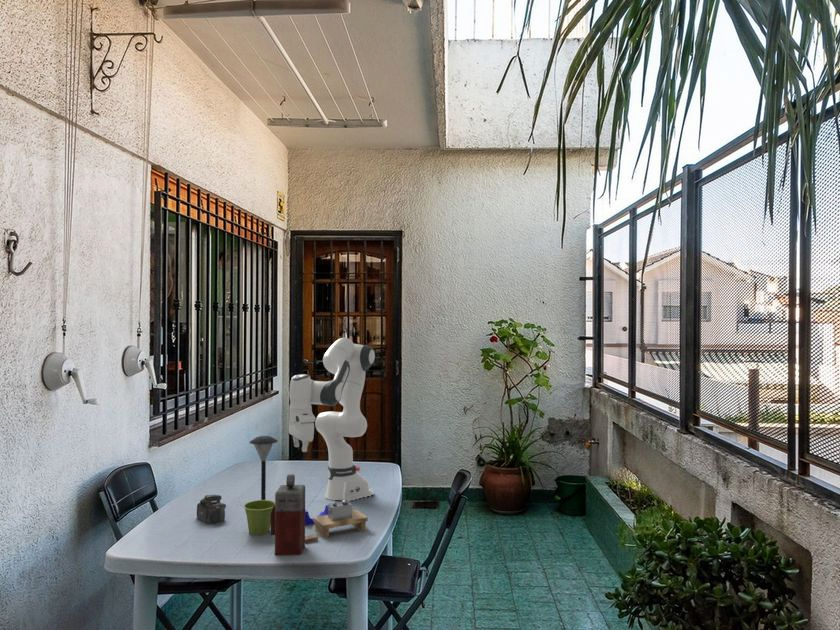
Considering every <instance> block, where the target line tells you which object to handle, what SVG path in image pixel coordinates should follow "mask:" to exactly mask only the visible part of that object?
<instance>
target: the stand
mask: <svg viewBox="0 0 840 630" xmlns="http://www.w3.org/2000/svg"><path fill="white" fill-rule="evenodd" d="M312 519H313V522H315V524H314V532H316V533H317V534H318V535H319V536H321V537H322V538H324V539H325V538H330V529H334V528H335V529H336V528H339V527H345V526H350V525H351V526H352V525H353V527H354V528H355V527H356V528H355V529H356V530H358V529H359V532H364V530H365V531H367V526H366V524H367V522H368V516H366V515H365V514H364V513H362V512H361V511H359V510H358V509H354V510H353V509H352V518H348V519H342V520H337V521H332V520H330V519H329V518H328V515H324V516H319V517H317V516H315V517H313V518H312Z"/></svg>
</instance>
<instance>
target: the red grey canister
mask: <svg viewBox="0 0 840 630" xmlns="http://www.w3.org/2000/svg"><path fill="white" fill-rule="evenodd" d="M295 477H296V476H295V474H290V473H289V474H287V475H286V482H285V483H286V484H281V485H279V487H278V489H277V490H276V492H275V495H274V496H275V497H274V502H275V504H274V506H273V508H272V511H271V525H270V536H274V556H302V554H303V551H304V550H305V547H306V543H305V536H306V525H305V510H306V486H305V484H295Z"/></svg>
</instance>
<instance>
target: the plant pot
mask: <svg viewBox="0 0 840 630" xmlns="http://www.w3.org/2000/svg"><path fill="white" fill-rule="evenodd" d="M274 504H275V501H274V500H273V501H272V500H267V499H265V500H261V499H258V500H252V501H248V502H246V503H244V504H243V508H244V509H245V511H244V512H245V514H246V520H247V528H248V534H249V535H251V536H261V535H266V534H268V533H269V532H270V531H271V511H272V508H273V506H274Z"/></svg>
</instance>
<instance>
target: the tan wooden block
mask: <svg viewBox="0 0 840 630" xmlns="http://www.w3.org/2000/svg"><path fill="white" fill-rule="evenodd" d="M318 541H319V537H318V535H316V534H315V533H314V534H310V535H305V544H308V543H312V542H318Z"/></svg>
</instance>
